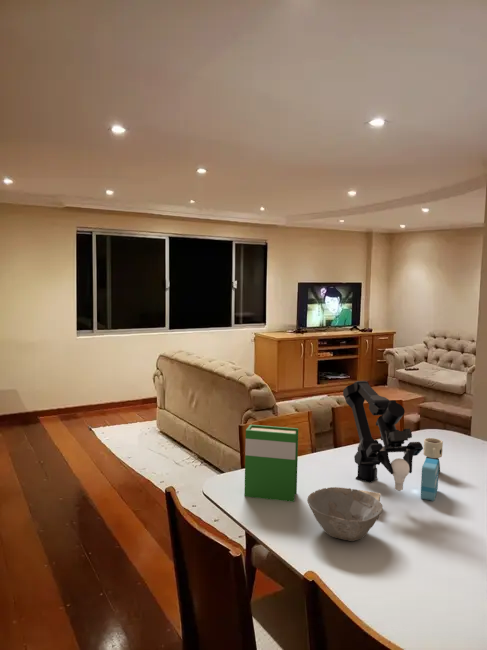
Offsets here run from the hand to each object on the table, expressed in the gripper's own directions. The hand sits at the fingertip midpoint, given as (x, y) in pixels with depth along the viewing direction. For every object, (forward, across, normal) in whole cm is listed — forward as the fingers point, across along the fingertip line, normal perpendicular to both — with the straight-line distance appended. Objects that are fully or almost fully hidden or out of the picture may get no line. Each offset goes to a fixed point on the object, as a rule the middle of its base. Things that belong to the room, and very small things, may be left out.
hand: (401, 473), depth 172 cm
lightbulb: (+4, 0, +6) cm, 7 cm away
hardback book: (-3, -41, +22) cm, 46 cm away
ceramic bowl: (+18, -25, 0) cm, 31 cm away
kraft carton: (+8, -10, +11) cm, 17 cm away
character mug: (-13, +30, +31) cm, 45 cm away
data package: (+2, +17, +16) cm, 23 cm away
